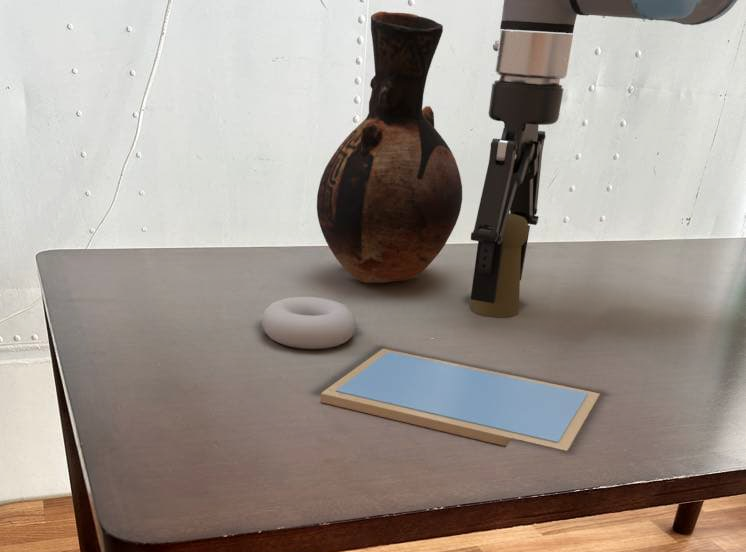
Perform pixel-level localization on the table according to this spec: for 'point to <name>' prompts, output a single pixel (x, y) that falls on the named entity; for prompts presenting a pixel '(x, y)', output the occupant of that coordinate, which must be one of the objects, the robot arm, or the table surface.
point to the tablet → (463, 400)
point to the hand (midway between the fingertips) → (496, 289)
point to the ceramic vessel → (392, 165)
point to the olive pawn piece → (507, 272)
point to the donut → (309, 322)
